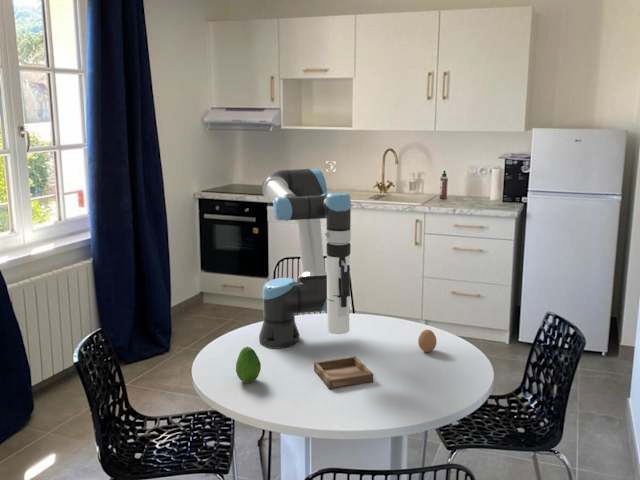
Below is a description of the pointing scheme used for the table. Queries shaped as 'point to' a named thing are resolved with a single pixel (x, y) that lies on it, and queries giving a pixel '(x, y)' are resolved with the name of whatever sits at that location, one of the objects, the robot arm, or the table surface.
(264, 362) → the table surface
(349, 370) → the tray
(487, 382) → the table surface
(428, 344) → the egg
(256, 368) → the avocado
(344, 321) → the cylindrical container
